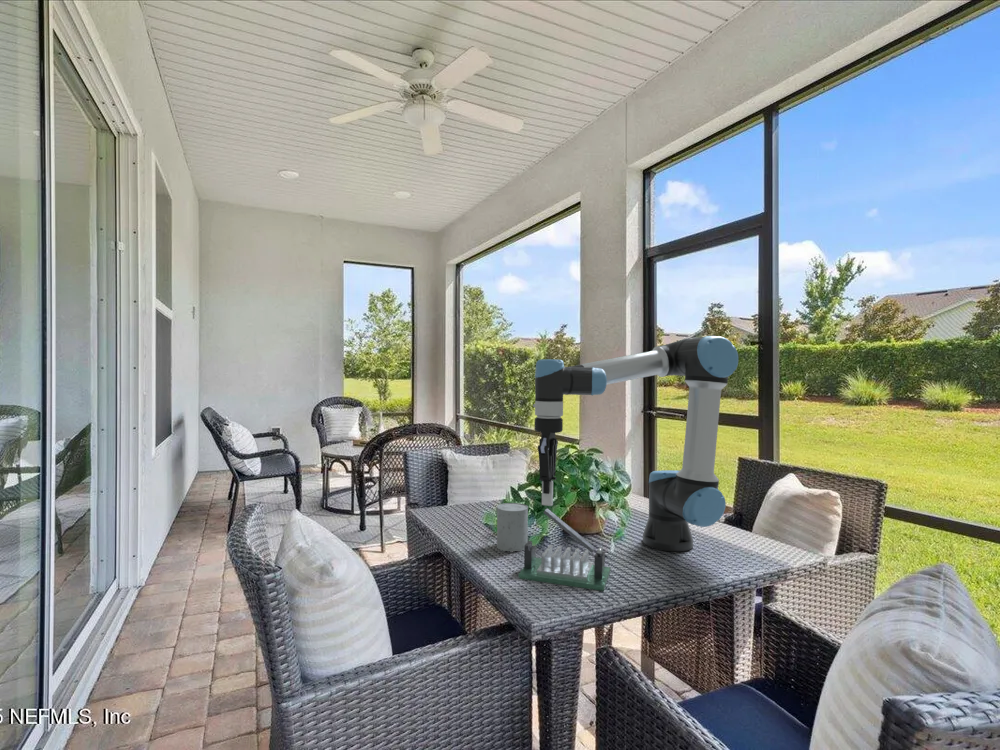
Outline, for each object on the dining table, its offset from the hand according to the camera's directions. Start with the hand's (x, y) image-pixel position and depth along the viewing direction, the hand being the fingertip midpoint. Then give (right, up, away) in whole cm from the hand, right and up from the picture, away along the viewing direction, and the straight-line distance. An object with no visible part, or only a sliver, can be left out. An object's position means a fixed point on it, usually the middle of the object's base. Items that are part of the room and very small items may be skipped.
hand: (547, 504), depth 139 cm
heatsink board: (+5, -18, -1) cm, 19 cm away
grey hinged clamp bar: (+6, -7, -2) cm, 10 cm away
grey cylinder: (-9, -18, +20) cm, 29 cm away
